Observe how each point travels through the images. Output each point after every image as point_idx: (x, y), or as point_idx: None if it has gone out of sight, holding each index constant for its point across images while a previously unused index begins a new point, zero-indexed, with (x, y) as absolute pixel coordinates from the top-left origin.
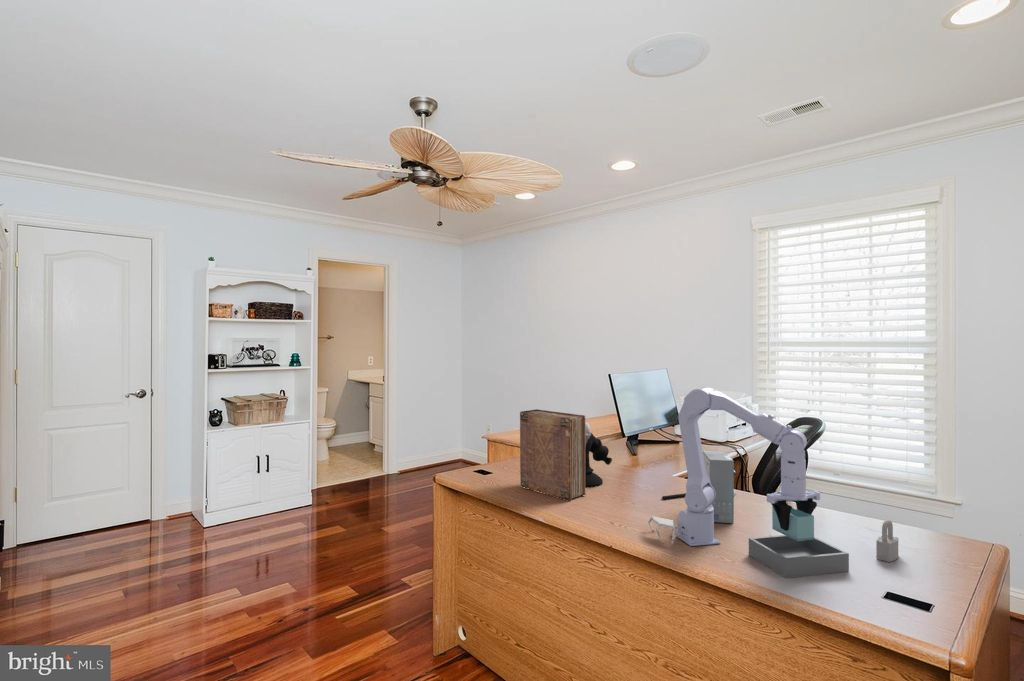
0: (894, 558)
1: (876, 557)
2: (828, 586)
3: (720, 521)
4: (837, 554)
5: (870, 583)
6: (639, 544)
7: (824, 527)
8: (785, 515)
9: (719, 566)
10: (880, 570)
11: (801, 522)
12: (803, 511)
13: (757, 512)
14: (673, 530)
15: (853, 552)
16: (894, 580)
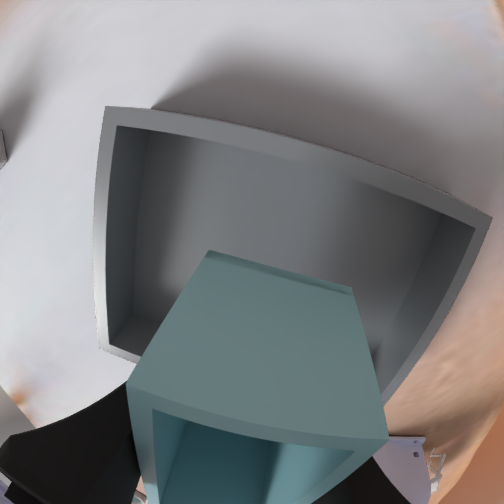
0: None
1: (4, 161)
2: (373, 58)
3: None
4: (171, 113)
5: (180, 9)
6: (473, 449)
7: (12, 344)
8: (385, 479)
9: (497, 344)
10: (54, 87)
11: (324, 382)
12: (132, 457)
13: None
14: (439, 473)
15: (24, 221)
16: (87, 16)
